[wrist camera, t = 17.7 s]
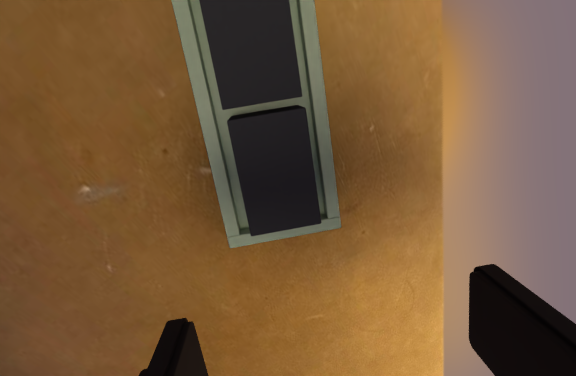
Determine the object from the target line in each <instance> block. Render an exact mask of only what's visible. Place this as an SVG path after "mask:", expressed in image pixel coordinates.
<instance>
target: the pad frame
mask: <svg viewBox="0 0 576 376" xmlns="http://www.w3.org/2000/svg"><path fill="white" fill-rule="evenodd" d="M289 3H290V10H291V17H292V25H293V32H294V39H295V46H296V53H297V60H298V67H299V75H300V82H301V89H302V97H297V98H292V99H286V100H280V101H274V102H268V103H262V104H256V105H250V106H244V107H238V108H232V109H226V110H223V109H222V105H221V101H220V96H219V91H218V86H217V82H216V77H215V72H214V68H213V63H212V58H211V54H210V49H209V44H208V39H207V35H206V30H205V25H204V21H203V16H202V11H201V6H200V2H199V0H172V5H173V9H174V13H175V17H176V22H177V26H178V30H179V34H180V39H181V43H182V47H183V51H184V56H185V60H186V64H187V69H188V73H189V77H190V81H191V86H192V90H193V94H194V98H195V103H196V107H197V111H198V115H199V120H200V124H201V128H202V132H203V137H204V141H205V145H206V149H207V154H208V158H209V162H210V166H211V171H212V175H213V179H214V183H215V188H216V192H217V196H218V200H219V205H220V209H221V213H222V218H223V222H224V226H225V230H226V235H227V239H228V243H229V247H230V248H235V247H240V246H245V245H251V244H256V243H262V242H267V241H272V240H278V239H283V238H289V237H294V236H299V235H305V234H310V233H315V232H321V231H326V230H332V229H337V228H341V220H340V212H339V204H338V195H337V187H336V178H335V170H334V162H333V153H332V145H331V137H330V128H329V120H328V111H327V103H326V95H325V86H324V78H323V70H322V61H321V53H320V44H319V36H318V28H317V19H316V11H315V3H314V0H289ZM293 105H299V106H302V107H305V108H306V113H307V120H308V128H309V135H310V142H311V149H312V157H313V164H314V171H315V178H316V186H317V193H318V200H319V208H320V215H321V222H322V223H321V224H317V225H311V226H306V227H301V228H295V229H290V230H284V231H279V232H273V233H268V234H263V235H257V236H251V235H250V230H249V225H248V220H247V216H246V211H245V206H244V201H243V197H242V192H241V187H240V182H239V177H238V173H237V168H236V163H235V158H234V154H233V149H232V144H231V139H230V135H229V130H228V125H227V120H228V119H229V118H230V117H231V116H234V115H239V114H245V113H251V112H257V111H263V110H269V109H275V108H281V107H287V106H293Z"/></svg>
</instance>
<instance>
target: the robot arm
mask: <svg viewBox="0 0 576 376" xmlns="http://www.w3.org/2000/svg"><path fill="white" fill-rule="evenodd" d="M469 286H470V287H469V291H470V292H469V341H470V344H471V346H472V348H473V349H474V350H475V352H476V353H477V354H478V355H479V357H480V358H481V359H482V360H483V362H484V363H485V364H486V365H487V366H488V368H489V369H490V370H491V371H492V373H493V374H494V375H495V376H576V324H575V323H573V322H572V321H571V320H569V319H568V318H567V317H565V316H564V315H563V314H561V313H560V312H558V311H557V310H556V309H554V308H553V307H552V306H550V305H549V304H548V303H546V302H545V301H544V300H542V299H541V298H540V297H538V296H537V295H536V294H534V293H533V292H531V291H530V290H529V289H528V288H526V287H525V286H524V285H522V284H521V283H520V282H518V281H517V280H515V279H514V278H513V277H511V276H510V275H509V274H507V273H506V272H505V271H503V270H502V269H501V268H499V267H498V266H496V265H494V264H490V265H484V266H479V267H475V269H474V272H472V273H470V283H469ZM139 376H208V373H207V369H206V366H205V362H204V358H203V355H202V351H201V348H200V344H199V341H198V337H197V333H196V330H195V326H194V323H193V322H192V321H191V322H188V320H187V319H186V318H182V319H176V320H170V321H168V322H167V323H166V325H165V328H164V330H163V332H162V335H161V337H160V340H159V342H158V344H157V347H156V349H155V352H154V354H153V356H152V359H151V361H150V364H149V366H148V369H144V370H142V371H141V372H140V374H139Z"/></svg>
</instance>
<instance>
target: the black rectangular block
mask: <svg viewBox="0 0 576 376" xmlns="http://www.w3.org/2000/svg"><path fill="white" fill-rule="evenodd" d="M199 2H200V6H201V11H202V16H203V21H204V25H205V30H206V35H207V39H208V44H209V49H210V54H211V58H212V63H213V68H214V72H215V77H216V82H217V86H218V91H219V96H220V101H221V105H222V109H223V110H226V109H232V108H238V107H244V106H250V105H256V104H262V103H268V102H274V101H280V100H286V99H292V98H297V97H302V89H301V82H300V75H299V67H298V60H297V53H296V46H295V39H294V32H293V25H292V17H291V10H290V3H289V0H199Z"/></svg>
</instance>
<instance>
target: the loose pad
mask: <svg viewBox="0 0 576 376" xmlns="http://www.w3.org/2000/svg"><path fill="white" fill-rule="evenodd" d="M227 125H228V130H229V135H230V139H231V144H232V149H233V154H234V158H235V163H236V168H237V173H238V177H239V182H240V187H241V192H242V197H243V201H244V206H245V211H246V216H247V220H248V225H249V230H250V235H251V236H257V235H263V234H268V233H273V232H279V231H284V230H290V229H295V228H301V227H306V226H311V225H317V224H321V223H322V222H321V215H320V208H319V200H318V193H317V186H316V178H315V171H314V164H313V157H312V149H311V142H310V135H309V128H308V120H307V113H306V108H305V107H302V106H299V105H293V106H287V107H281V108H275V109H269V110H263V111H257V112H251V113H245V114H239V115H234V116H231V117H230V118H229V119H228V120H227Z"/></svg>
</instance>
